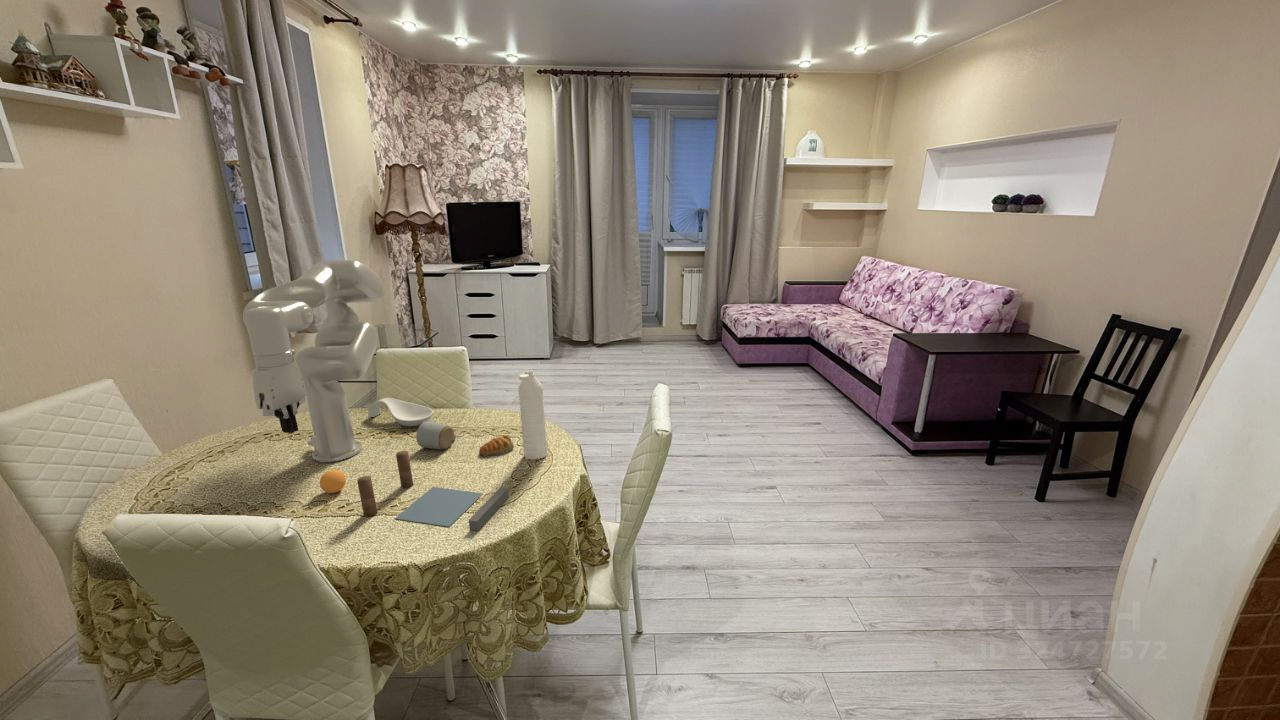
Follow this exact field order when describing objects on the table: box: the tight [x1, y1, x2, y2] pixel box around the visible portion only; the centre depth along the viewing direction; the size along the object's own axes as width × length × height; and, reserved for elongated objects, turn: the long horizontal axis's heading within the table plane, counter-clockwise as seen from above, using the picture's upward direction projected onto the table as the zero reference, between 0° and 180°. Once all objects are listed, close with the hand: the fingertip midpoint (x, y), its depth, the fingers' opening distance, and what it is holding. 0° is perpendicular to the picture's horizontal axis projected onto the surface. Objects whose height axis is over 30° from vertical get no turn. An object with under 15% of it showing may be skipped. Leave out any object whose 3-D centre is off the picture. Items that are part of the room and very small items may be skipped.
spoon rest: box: [367, 397, 434, 428], centre depth 173 cm, size 24×12×7 cm, turn 70°
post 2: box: [395, 450, 414, 489], centre depth 132 cm, size 3×3×9 cm
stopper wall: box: [468, 487, 510, 532], centre depth 120 cm, size 2×14×2 cm, turn 166°
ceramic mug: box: [416, 420, 457, 450], centre depth 154 cm, size 11×8×8 cm
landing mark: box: [394, 486, 484, 528], centre depth 124 cm, size 14×14×1 cm
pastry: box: [478, 434, 515, 457], centre depth 151 cm, size 9×7×4 cm
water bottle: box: [517, 369, 548, 461], centre depth 144 cm, size 9×6×25 cm
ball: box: [319, 469, 347, 494], centre depth 130 cm, size 6×6×6 cm
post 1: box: [356, 475, 378, 518], centre depth 120 cm, size 3×3×9 cm
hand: (290, 431), depth 129 cm, fingers closed
